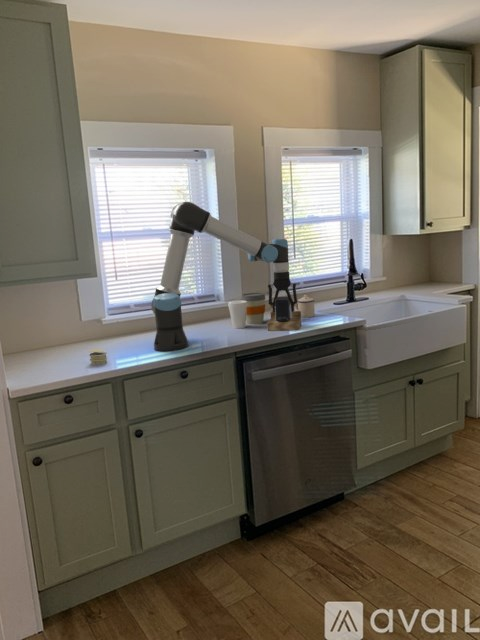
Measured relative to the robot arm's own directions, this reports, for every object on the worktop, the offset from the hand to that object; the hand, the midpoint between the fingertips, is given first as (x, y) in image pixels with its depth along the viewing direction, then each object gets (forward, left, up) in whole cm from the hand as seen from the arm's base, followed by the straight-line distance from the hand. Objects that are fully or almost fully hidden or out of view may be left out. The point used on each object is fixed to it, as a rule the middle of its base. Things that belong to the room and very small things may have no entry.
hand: (283, 318), depth 264 cm
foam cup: (-24, +6, -5) cm, 25 cm away
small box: (0, 0, -1) cm, 1 cm away
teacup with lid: (+7, +32, -5) cm, 33 cm away
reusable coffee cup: (-18, +18, -5) cm, 26 cm away
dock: (0, +1, -5) cm, 5 cm away
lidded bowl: (-3, +19, -5) cm, 20 cm away
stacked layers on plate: (-69, -61, -5) cm, 92 cm away
